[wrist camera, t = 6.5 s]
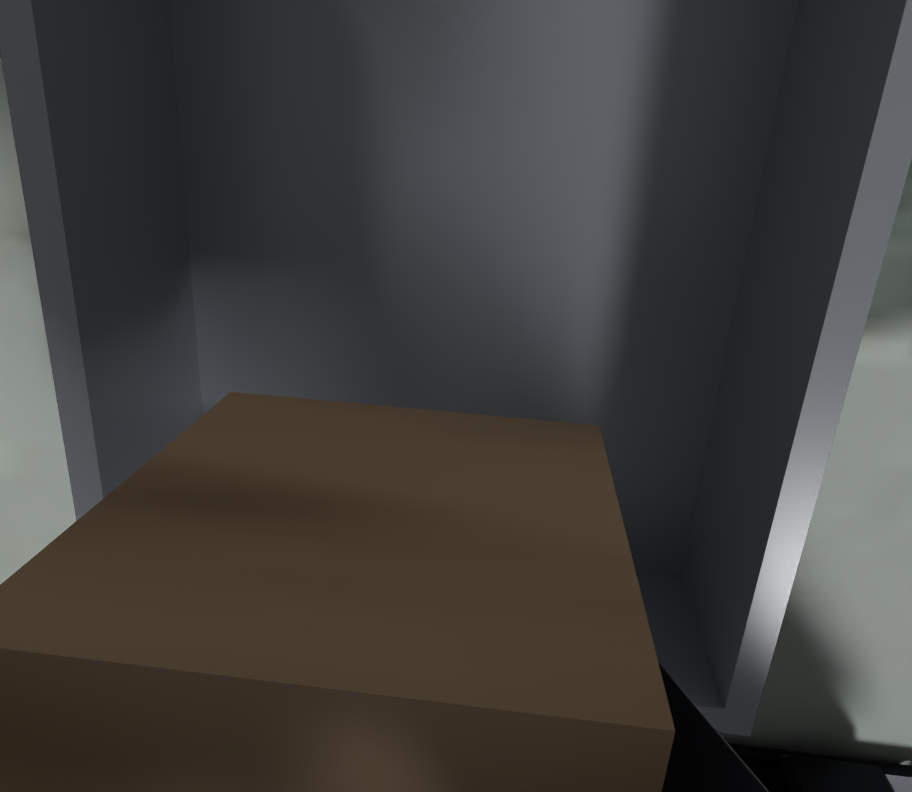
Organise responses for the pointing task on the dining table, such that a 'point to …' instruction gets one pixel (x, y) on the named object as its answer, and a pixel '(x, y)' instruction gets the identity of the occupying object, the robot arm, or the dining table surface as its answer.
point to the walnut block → (339, 615)
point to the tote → (483, 245)
